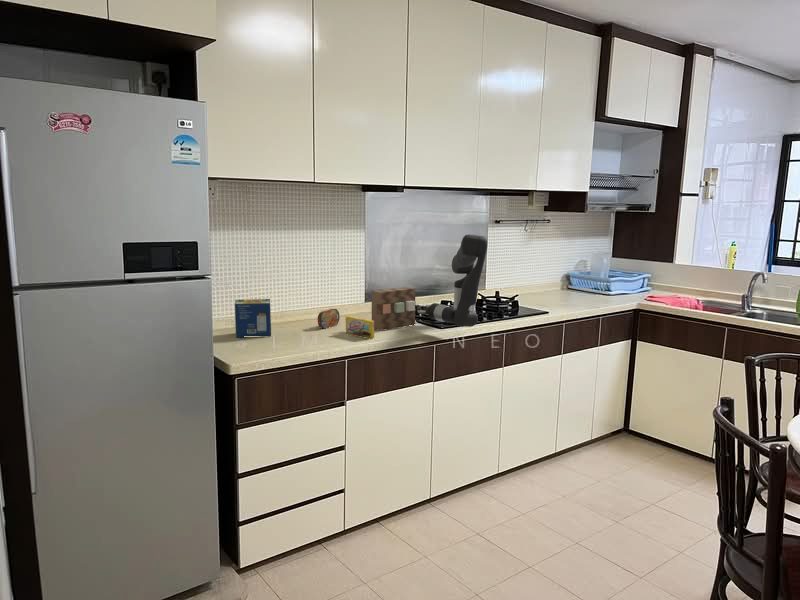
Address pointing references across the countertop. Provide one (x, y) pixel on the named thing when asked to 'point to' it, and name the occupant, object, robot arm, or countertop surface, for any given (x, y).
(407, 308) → the cream button
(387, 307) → the terracotta button
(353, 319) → the candy box
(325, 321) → the tin
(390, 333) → the countertop surface
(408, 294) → the button panel
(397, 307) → the sage button
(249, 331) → the protein box
